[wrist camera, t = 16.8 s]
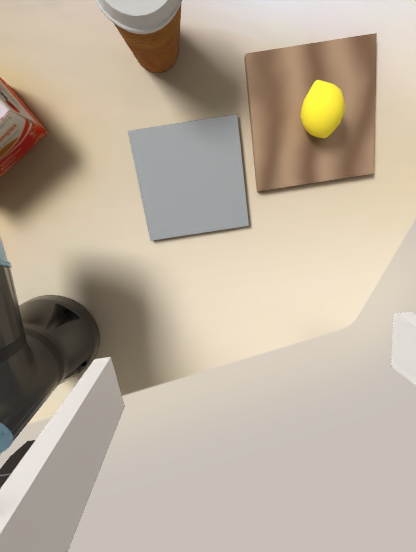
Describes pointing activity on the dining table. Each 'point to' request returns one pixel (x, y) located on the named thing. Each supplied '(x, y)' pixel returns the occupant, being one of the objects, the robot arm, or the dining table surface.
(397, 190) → the dining table surface
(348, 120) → the walnut board
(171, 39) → the disposable coffee cup
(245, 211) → the slate grey mat
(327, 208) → the dining table surface
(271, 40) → the dining table surface
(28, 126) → the medicine box
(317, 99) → the lemon
